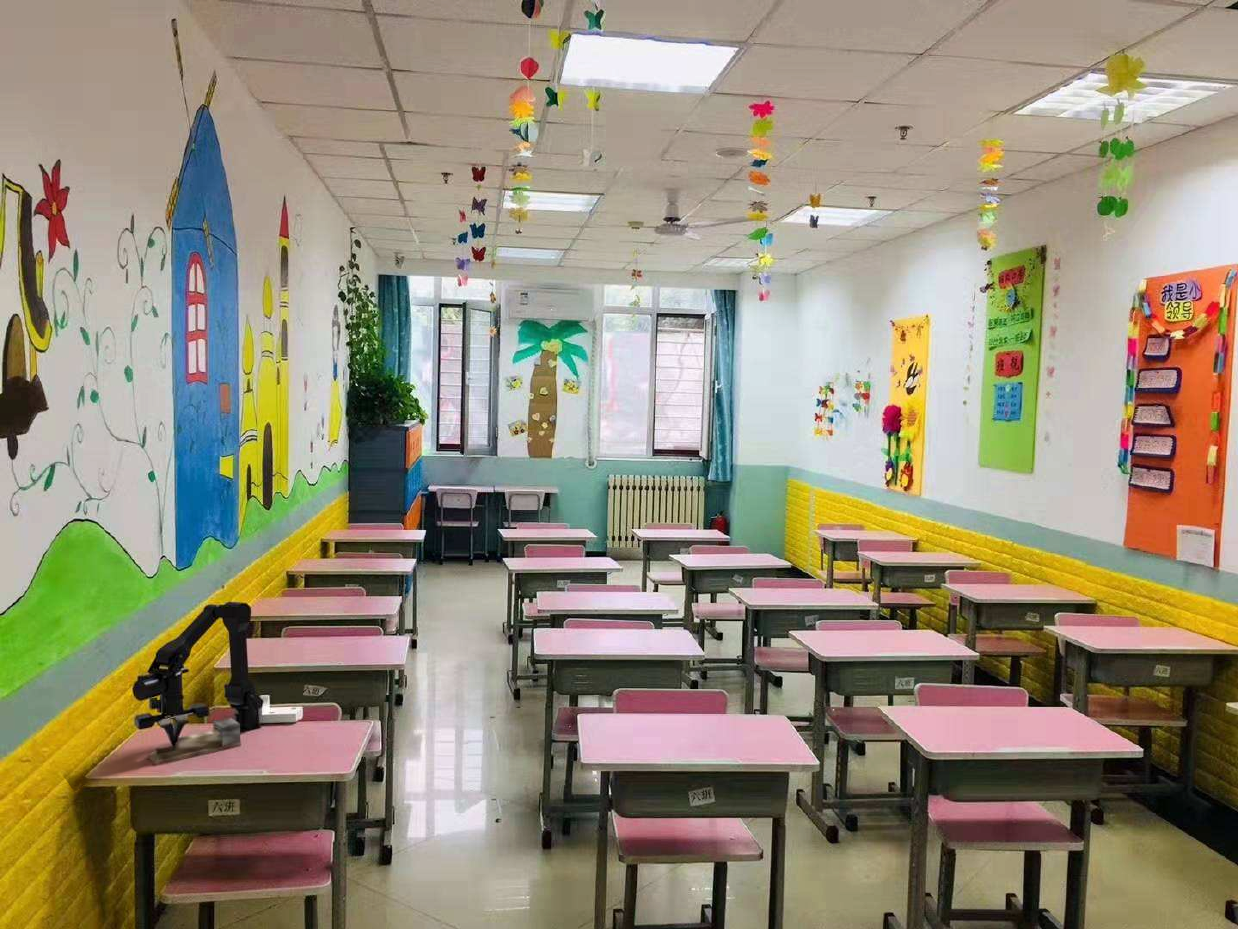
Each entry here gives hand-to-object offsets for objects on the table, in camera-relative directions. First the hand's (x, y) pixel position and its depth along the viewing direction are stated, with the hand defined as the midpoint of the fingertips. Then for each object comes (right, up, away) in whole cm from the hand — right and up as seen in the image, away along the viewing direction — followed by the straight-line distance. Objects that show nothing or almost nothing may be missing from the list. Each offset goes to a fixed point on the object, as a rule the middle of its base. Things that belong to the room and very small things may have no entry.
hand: (173, 745), depth 265 cm
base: (+4, -3, +4) cm, 6 cm away
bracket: (+19, -2, +30) cm, 36 cm away
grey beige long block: (+6, -2, +5) cm, 8 cm away
